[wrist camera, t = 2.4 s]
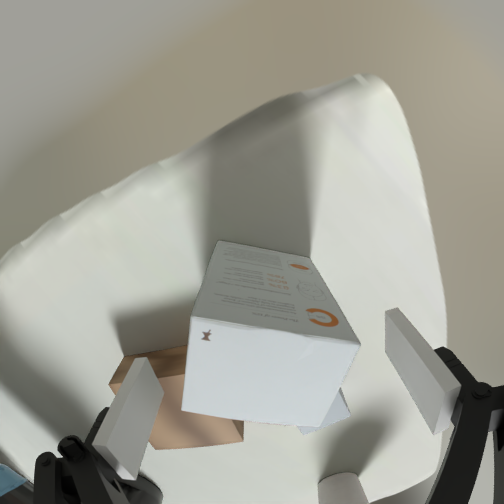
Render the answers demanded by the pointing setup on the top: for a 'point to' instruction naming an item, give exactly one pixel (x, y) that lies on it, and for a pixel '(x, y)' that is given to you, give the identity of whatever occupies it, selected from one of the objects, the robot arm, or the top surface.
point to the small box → (265, 340)
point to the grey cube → (331, 414)
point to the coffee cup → (341, 490)
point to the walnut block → (179, 406)
